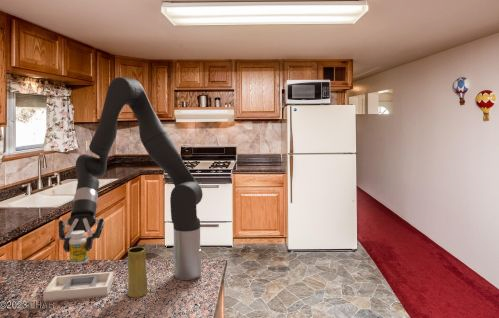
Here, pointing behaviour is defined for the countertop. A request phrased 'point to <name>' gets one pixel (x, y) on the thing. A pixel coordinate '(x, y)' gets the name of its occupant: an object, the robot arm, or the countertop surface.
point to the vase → (137, 272)
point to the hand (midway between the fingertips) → (77, 250)
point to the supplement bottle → (78, 247)
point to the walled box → (78, 286)
